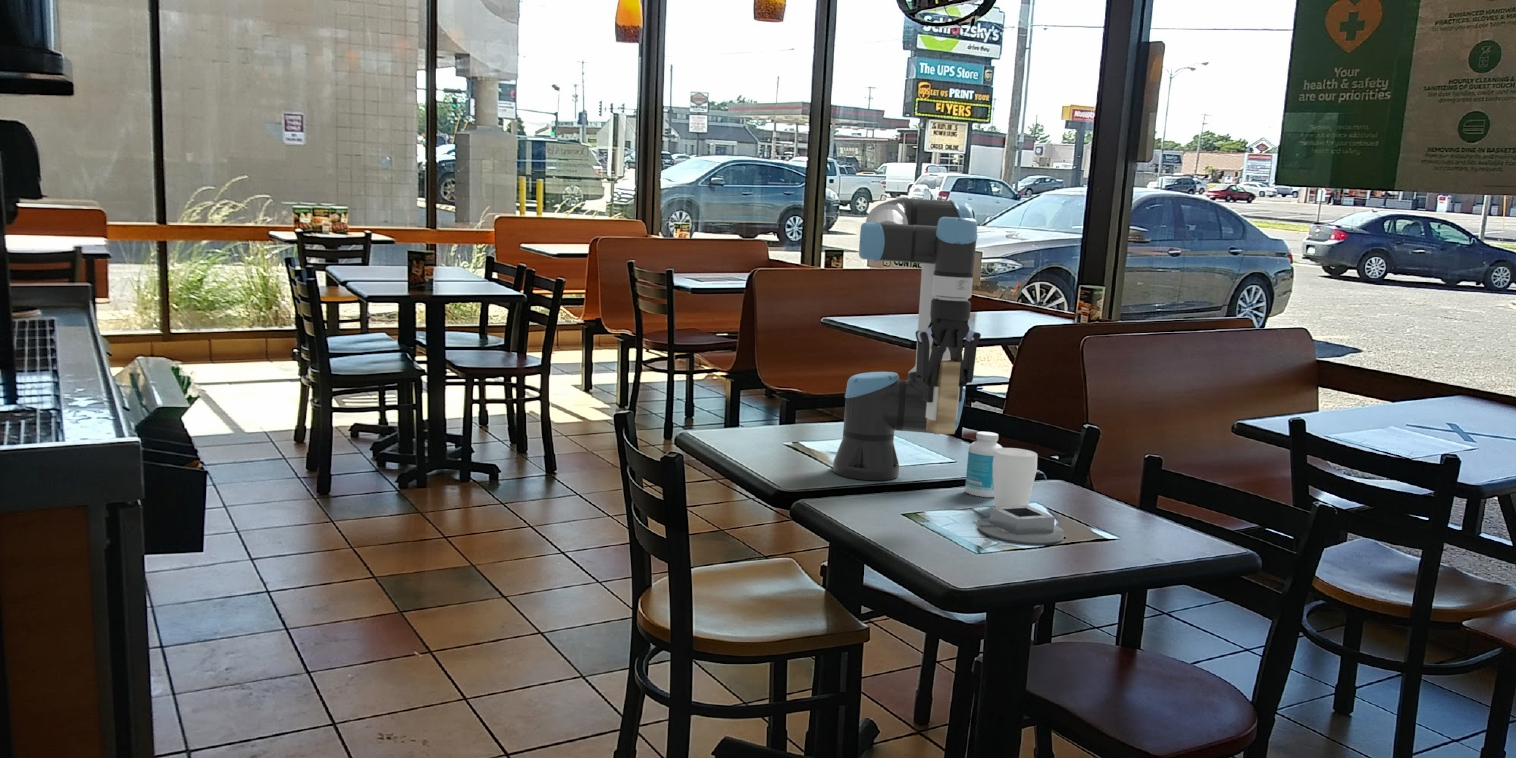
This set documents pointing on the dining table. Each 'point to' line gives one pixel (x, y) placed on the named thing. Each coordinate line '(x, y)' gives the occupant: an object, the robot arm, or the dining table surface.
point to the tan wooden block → (946, 398)
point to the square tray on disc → (1021, 526)
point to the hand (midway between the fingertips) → (941, 418)
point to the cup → (1013, 476)
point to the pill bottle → (981, 465)
